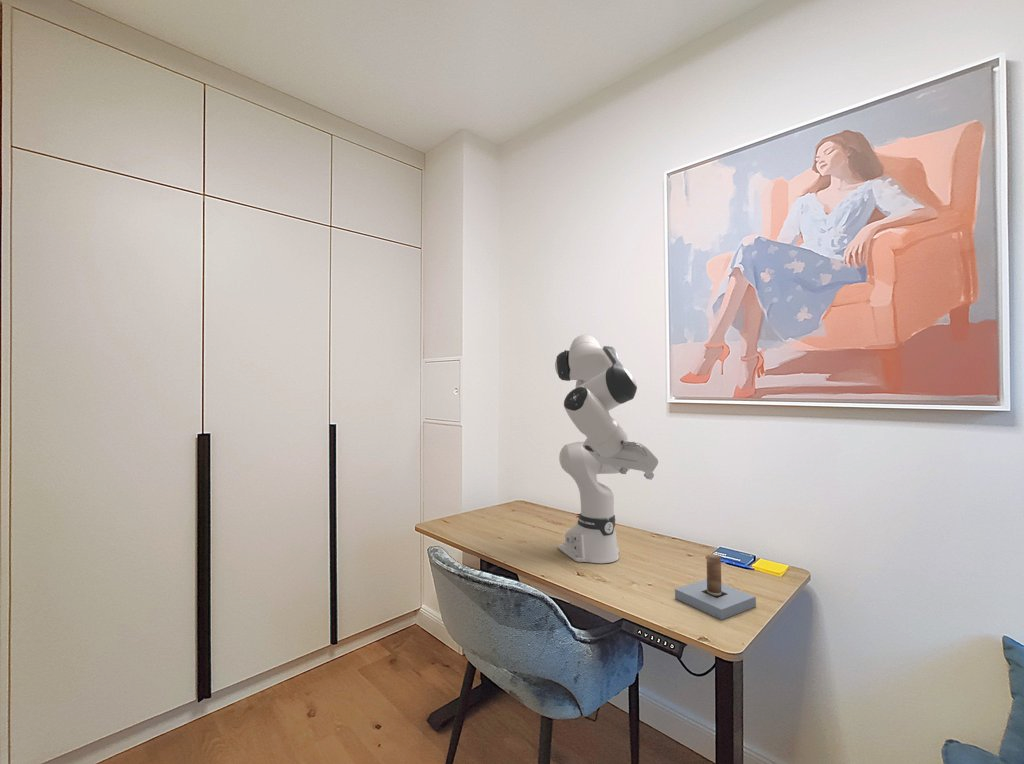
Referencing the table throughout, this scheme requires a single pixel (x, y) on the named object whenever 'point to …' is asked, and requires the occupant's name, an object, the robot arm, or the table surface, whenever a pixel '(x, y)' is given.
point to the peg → (714, 575)
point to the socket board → (715, 599)
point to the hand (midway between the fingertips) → (637, 474)
